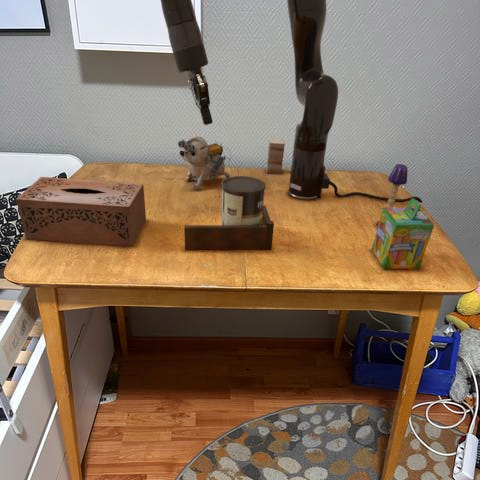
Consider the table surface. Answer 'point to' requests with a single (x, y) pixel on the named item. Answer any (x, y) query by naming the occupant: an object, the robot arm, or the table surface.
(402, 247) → the chalk box
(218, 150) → the robotic toy
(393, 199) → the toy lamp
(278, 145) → the brown banded block
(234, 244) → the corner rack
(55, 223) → the tissue box cover
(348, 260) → the table surface
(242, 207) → the coffee can
